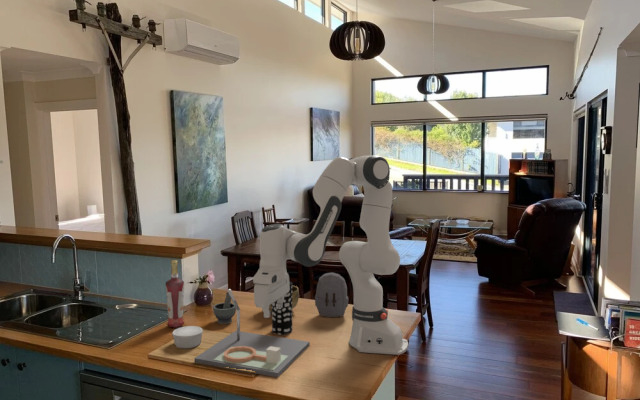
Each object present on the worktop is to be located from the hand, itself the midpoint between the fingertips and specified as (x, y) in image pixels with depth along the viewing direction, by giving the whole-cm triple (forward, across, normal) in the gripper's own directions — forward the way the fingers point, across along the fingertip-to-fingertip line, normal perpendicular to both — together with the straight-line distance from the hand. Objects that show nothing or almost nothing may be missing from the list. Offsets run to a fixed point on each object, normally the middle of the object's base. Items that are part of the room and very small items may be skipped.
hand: (273, 312), depth 164 cm
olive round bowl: (+19, -53, -22) cm, 60 cm away
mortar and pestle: (+19, -33, -39) cm, 54 cm away
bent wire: (+18, -10, -21) cm, 29 cm away
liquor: (+19, -20, -55) cm, 62 cm away
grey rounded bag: (+19, -55, +2) cm, 58 cm away
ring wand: (+17, 0, -8) cm, 19 cm away
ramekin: (+19, -6, -39) cm, 44 cm away
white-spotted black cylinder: (+19, -31, -11) cm, 38 cm away
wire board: (+19, -7, -11) cm, 23 cm away
